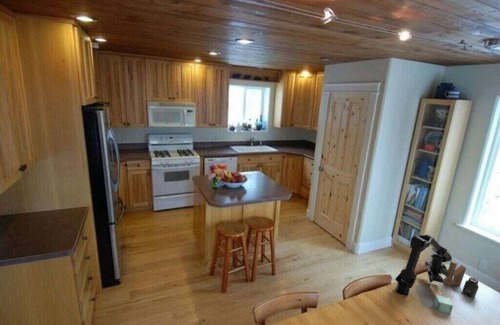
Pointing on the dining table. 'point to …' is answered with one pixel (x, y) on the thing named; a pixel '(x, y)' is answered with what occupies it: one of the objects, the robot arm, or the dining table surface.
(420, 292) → the mat
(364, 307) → the dining table surface
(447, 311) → the end cap
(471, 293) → the supplement bottle
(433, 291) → the slat
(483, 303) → the dining table surface
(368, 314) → the dining table surface
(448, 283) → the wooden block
